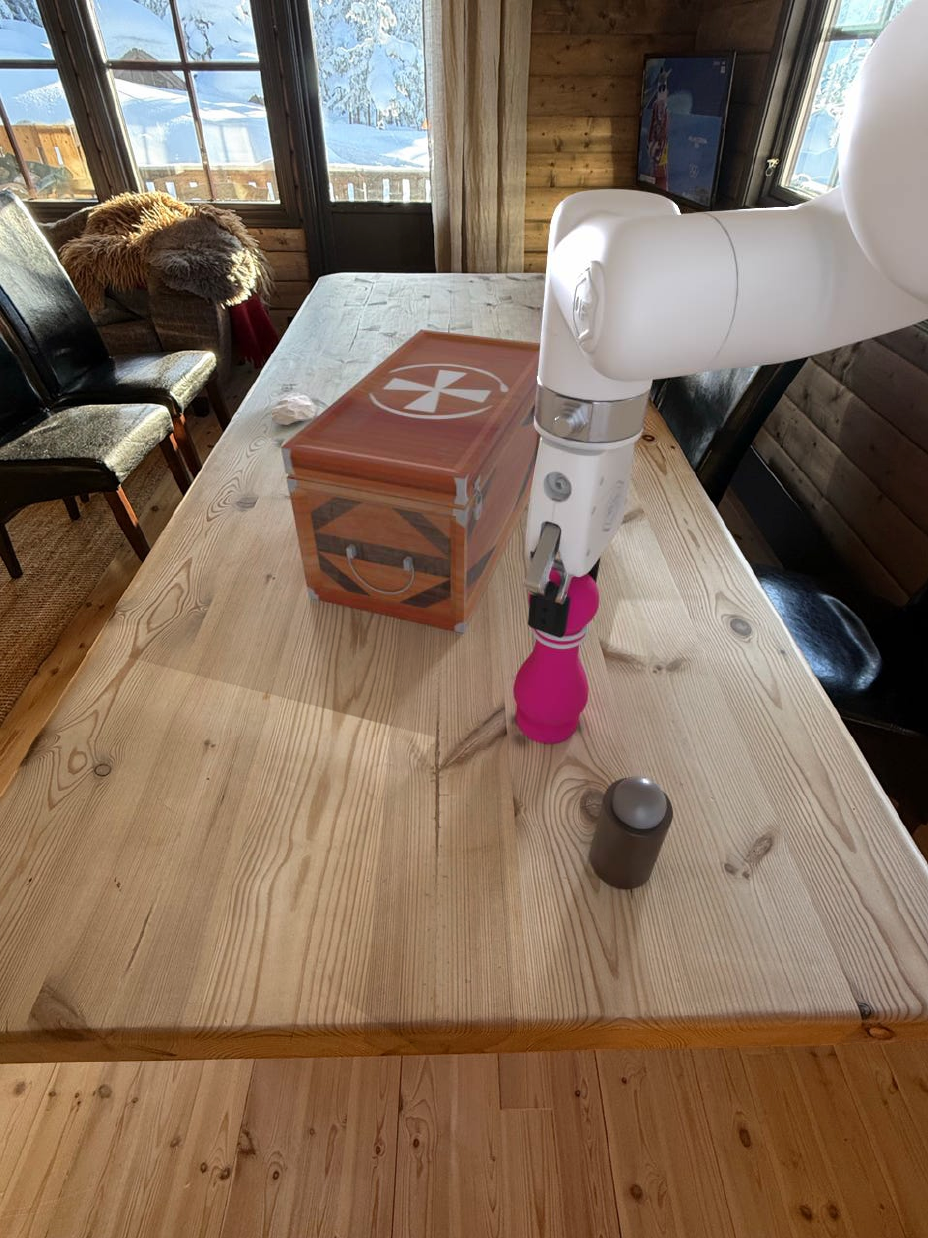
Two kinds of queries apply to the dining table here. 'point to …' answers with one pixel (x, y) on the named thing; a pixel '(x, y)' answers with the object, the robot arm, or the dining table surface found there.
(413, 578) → the wooden box
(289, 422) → the stone
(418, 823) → the dining table surface
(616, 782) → the salt shaker
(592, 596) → the pepper mill
